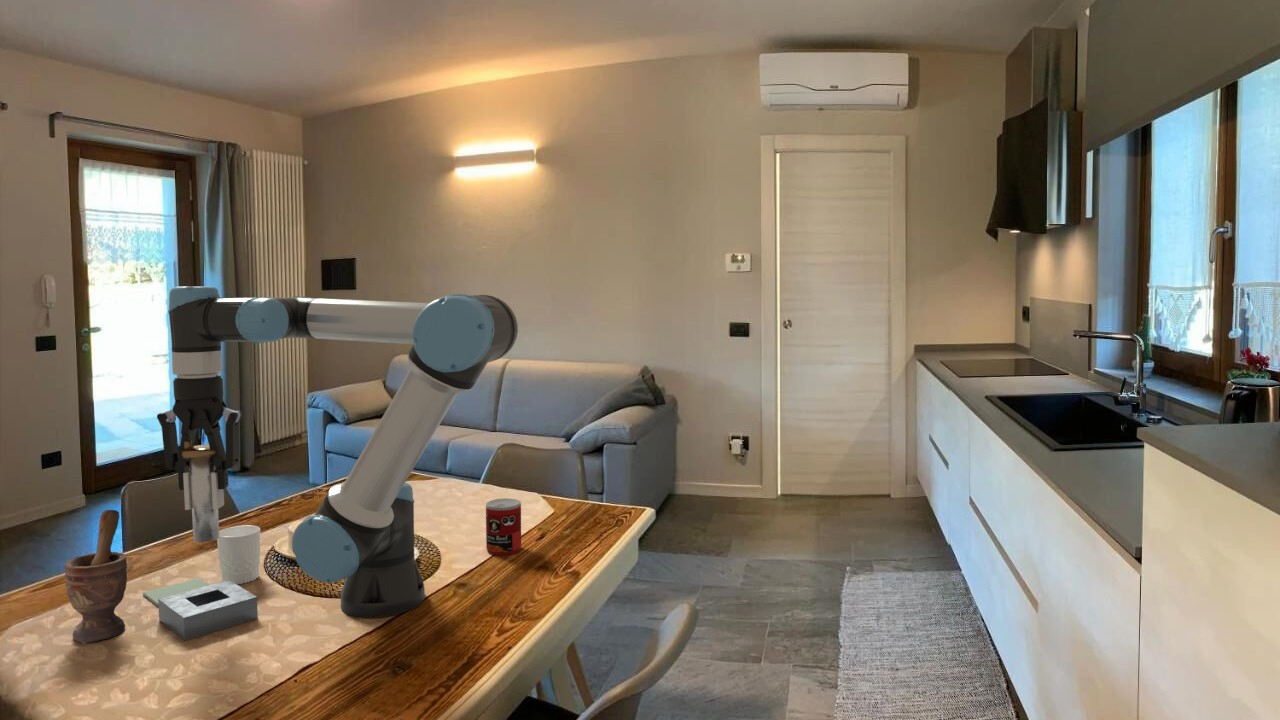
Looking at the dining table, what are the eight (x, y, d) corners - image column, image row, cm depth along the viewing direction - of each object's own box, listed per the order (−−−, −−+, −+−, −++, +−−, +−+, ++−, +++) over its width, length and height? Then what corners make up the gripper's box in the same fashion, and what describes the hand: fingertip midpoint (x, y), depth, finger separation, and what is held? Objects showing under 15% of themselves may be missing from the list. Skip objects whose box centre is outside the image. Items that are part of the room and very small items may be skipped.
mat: (219, 593, 151) (219, 590, 151) (161, 609, 144) (161, 606, 144) (199, 580, 158) (199, 577, 158) (143, 595, 150) (142, 592, 150)
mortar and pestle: (71, 623, 138) (64, 512, 136) (129, 612, 142) (124, 505, 140) (67, 649, 128) (60, 530, 126) (130, 636, 133) (124, 521, 131)
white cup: (244, 587, 154) (242, 538, 154) (209, 584, 156) (207, 535, 155) (270, 573, 162) (268, 526, 161) (237, 570, 164) (235, 524, 163)
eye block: (257, 618, 140) (256, 596, 140) (184, 640, 131) (183, 617, 131) (230, 600, 148) (229, 580, 148) (159, 620, 139) (158, 598, 139)
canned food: (479, 553, 175) (479, 505, 174) (498, 542, 183) (498, 496, 182) (509, 558, 173) (508, 509, 172) (527, 547, 180) (527, 500, 179)
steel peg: (218, 530, 143) (213, 434, 141) (233, 537, 139) (228, 438, 137) (180, 539, 138) (174, 439, 136) (193, 546, 134) (188, 444, 132)
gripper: (257, 372, 140) (263, 500, 142) (158, 373, 139) (165, 502, 141) (239, 377, 132) (245, 512, 135) (134, 378, 131) (142, 514, 133)
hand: (204, 507), depth 138 cm, fingers closed on steel peg, 4 cm apart
